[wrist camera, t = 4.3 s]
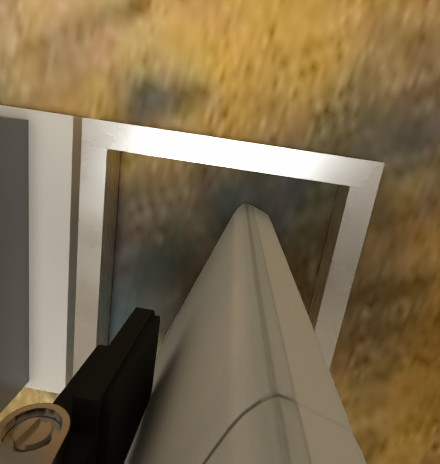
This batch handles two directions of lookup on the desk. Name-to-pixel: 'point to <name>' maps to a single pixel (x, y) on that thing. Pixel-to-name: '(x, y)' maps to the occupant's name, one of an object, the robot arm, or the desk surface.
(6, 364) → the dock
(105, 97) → the desk surface
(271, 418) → the hard drive
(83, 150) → the rectangular frame tray
